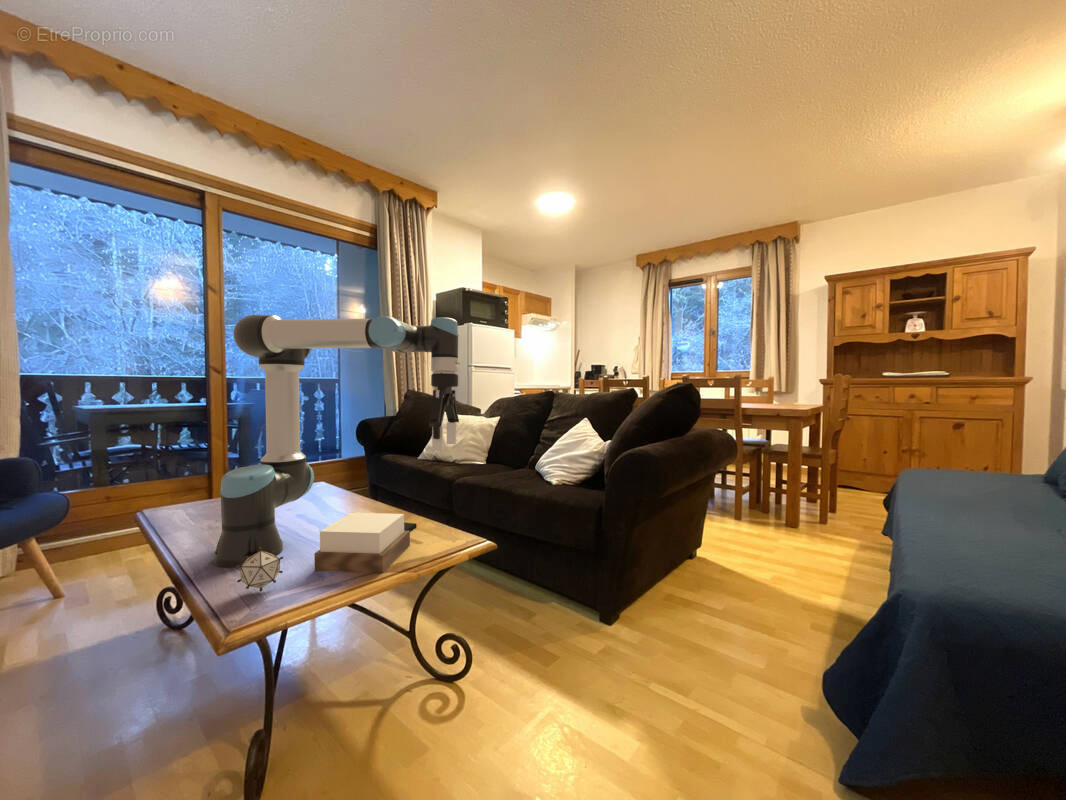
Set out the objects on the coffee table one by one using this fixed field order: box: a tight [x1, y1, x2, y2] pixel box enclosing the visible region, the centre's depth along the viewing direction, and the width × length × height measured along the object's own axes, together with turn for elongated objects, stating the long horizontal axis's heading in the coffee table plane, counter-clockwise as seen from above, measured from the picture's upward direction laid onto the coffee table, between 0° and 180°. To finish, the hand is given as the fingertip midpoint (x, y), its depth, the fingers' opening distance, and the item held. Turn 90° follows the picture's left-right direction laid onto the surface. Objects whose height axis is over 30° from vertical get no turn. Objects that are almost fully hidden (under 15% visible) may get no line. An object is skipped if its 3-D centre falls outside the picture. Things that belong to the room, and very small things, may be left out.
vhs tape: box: [404, 522, 417, 533], centre depth 124 cm, size 8×14×2 cm, turn 167°
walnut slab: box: [314, 531, 411, 574], centre depth 107 cm, size 17×17×5 cm
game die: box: [235, 547, 284, 593], centre depth 89 cm, size 9×8×10 cm
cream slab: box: [319, 512, 405, 554], centre depth 107 cm, size 15×15×5 cm
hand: (444, 447), depth 118 cm, fingers open, 13 cm apart
